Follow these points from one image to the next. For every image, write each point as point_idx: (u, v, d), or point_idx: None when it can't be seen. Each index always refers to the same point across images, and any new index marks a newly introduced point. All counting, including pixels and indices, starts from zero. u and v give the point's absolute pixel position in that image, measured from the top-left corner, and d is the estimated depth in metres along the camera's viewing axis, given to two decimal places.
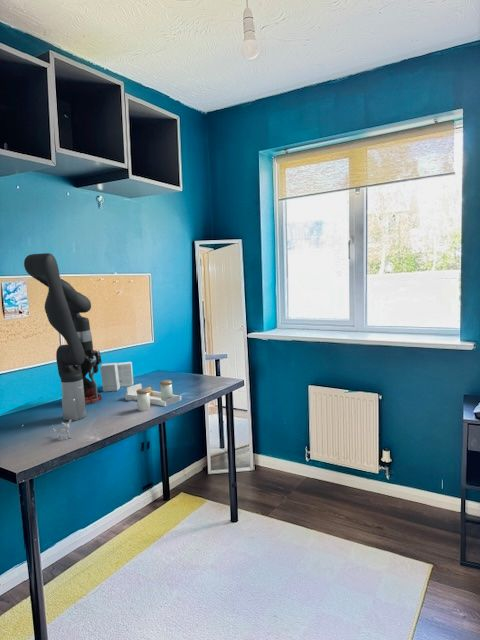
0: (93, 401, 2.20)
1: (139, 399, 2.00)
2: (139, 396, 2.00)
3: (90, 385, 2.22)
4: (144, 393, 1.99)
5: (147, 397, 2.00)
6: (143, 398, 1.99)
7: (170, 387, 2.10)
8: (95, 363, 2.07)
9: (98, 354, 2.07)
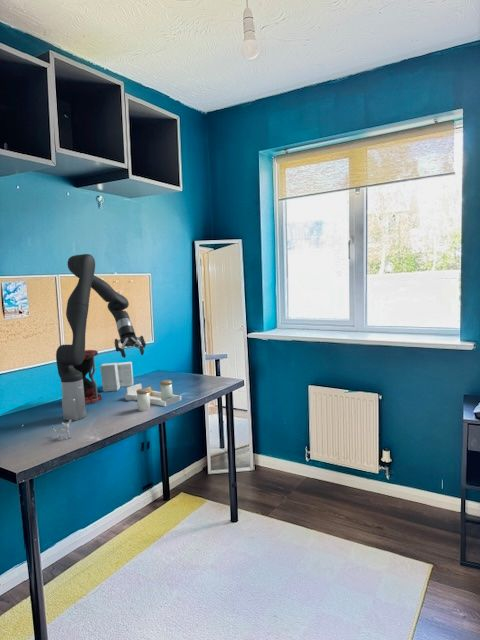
0: (93, 401, 2.20)
1: (139, 399, 2.00)
2: (139, 396, 2.00)
3: (90, 385, 2.22)
4: (144, 393, 1.99)
5: (147, 397, 2.00)
6: (143, 398, 1.99)
7: (170, 387, 2.10)
8: (141, 344, 2.15)
9: None
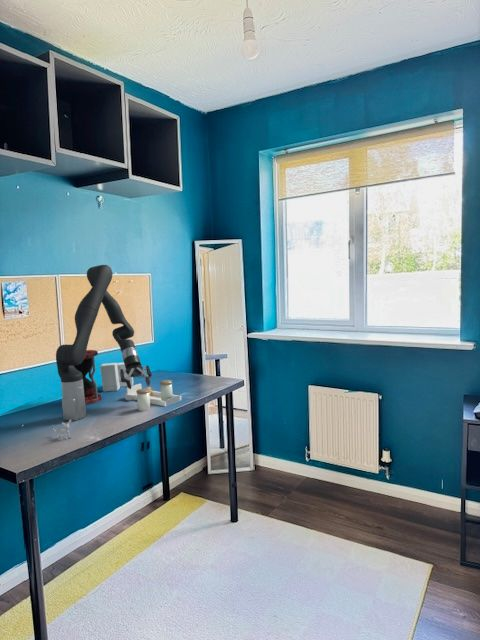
0: (93, 401, 2.20)
1: (139, 399, 2.00)
2: (139, 396, 2.00)
3: (90, 385, 2.22)
4: (144, 393, 1.99)
5: (147, 397, 2.00)
6: (143, 398, 1.99)
7: (170, 387, 2.10)
8: (147, 375, 2.11)
9: None
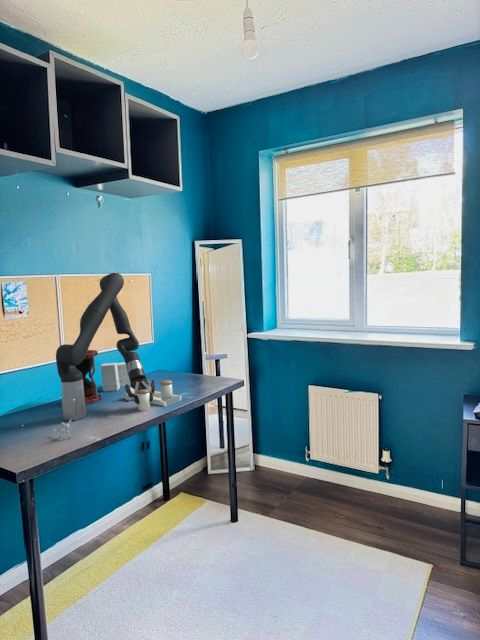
0: (93, 401, 2.20)
1: (139, 399, 2.00)
2: (139, 396, 2.00)
3: (90, 385, 2.22)
4: (144, 393, 1.99)
5: (147, 397, 2.00)
6: (143, 398, 1.99)
7: (170, 387, 2.10)
8: (151, 390, 2.05)
9: (153, 383, 2.08)
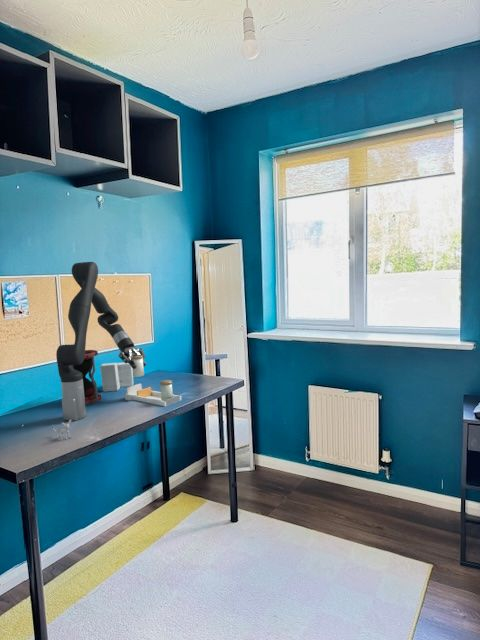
0: (93, 401, 2.20)
1: None
2: (135, 361, 2.20)
3: (90, 385, 2.22)
4: (140, 358, 2.21)
5: (142, 362, 2.22)
6: (139, 363, 2.20)
7: (170, 387, 2.10)
8: None
9: None
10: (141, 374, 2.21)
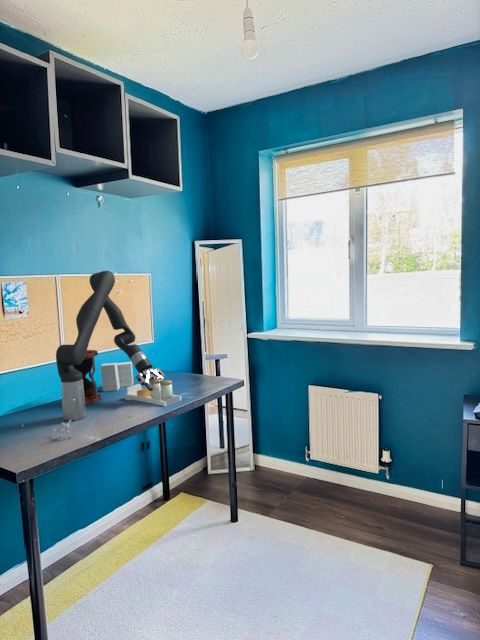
0: (93, 401, 2.20)
1: (154, 388, 2.13)
2: (154, 385, 2.13)
3: (90, 385, 2.22)
4: (159, 382, 2.14)
5: None
6: (158, 387, 2.14)
7: (170, 387, 2.10)
8: (161, 376, 2.21)
9: None
10: (160, 398, 2.15)
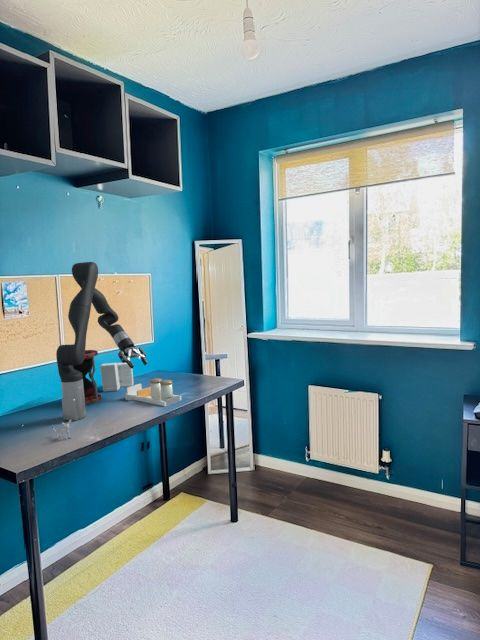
0: (93, 401, 2.20)
1: (154, 388, 2.13)
2: (154, 385, 2.13)
3: (90, 385, 2.22)
4: (159, 382, 2.14)
5: None
6: (158, 387, 2.14)
7: (170, 387, 2.10)
8: None
9: None
10: (160, 398, 2.15)
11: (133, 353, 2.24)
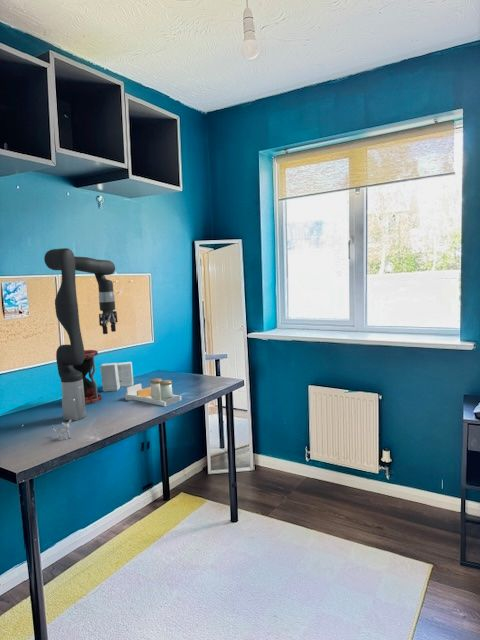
0: (93, 401, 2.20)
1: (154, 388, 2.13)
2: (154, 385, 2.13)
3: (90, 385, 2.22)
4: (159, 382, 2.14)
5: None
6: (158, 387, 2.14)
7: (170, 387, 2.10)
8: None
9: None
10: (160, 399, 2.15)
11: (110, 318, 2.23)
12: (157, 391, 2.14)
